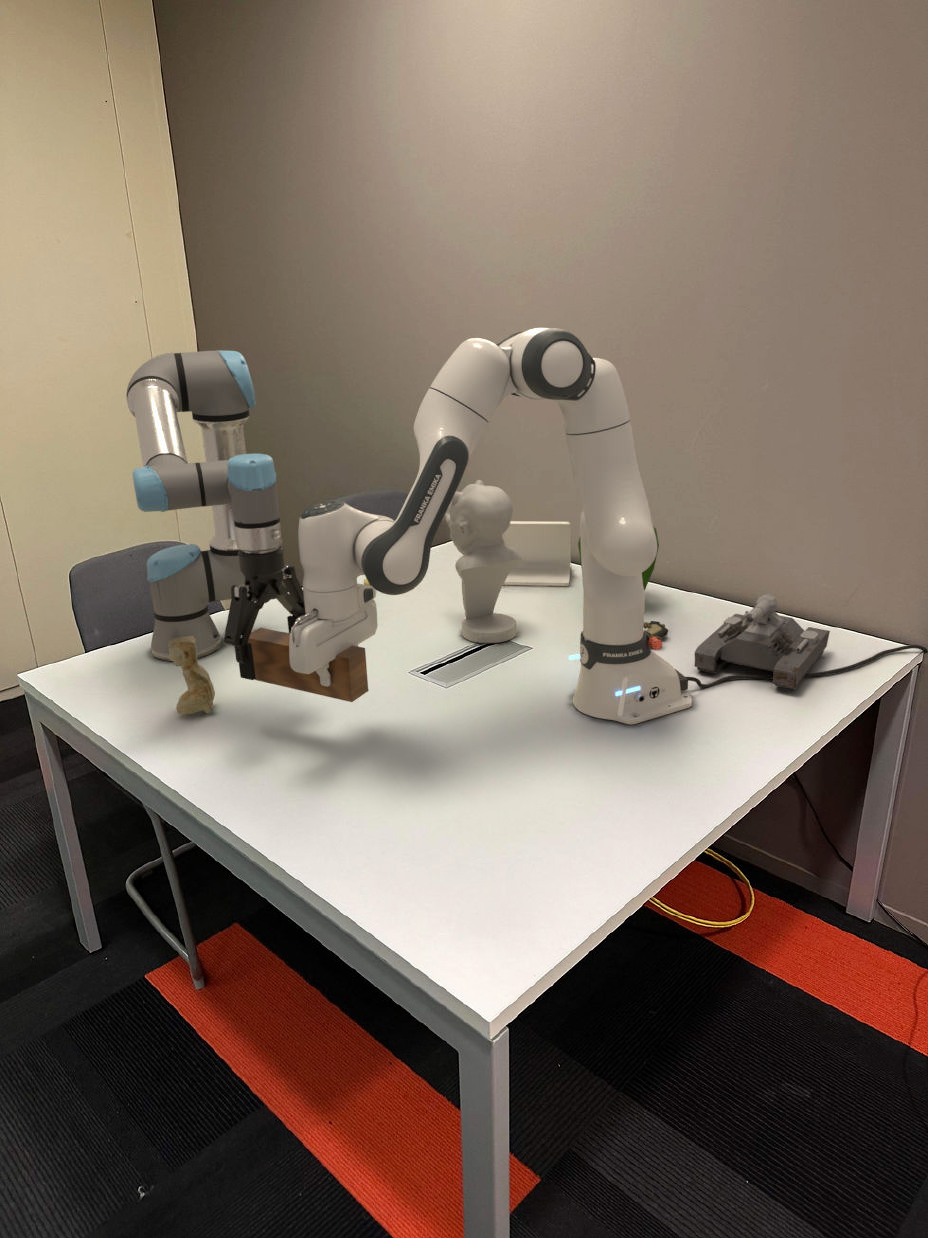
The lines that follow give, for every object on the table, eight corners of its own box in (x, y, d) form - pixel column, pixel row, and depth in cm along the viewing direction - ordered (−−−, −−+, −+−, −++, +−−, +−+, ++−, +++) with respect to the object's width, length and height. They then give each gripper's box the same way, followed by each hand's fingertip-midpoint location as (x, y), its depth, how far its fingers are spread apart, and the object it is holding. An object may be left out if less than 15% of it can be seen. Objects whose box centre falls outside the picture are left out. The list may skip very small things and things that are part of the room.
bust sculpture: (483, 606, 216) (480, 468, 204) (534, 636, 196) (535, 485, 184) (426, 618, 209) (419, 476, 197) (473, 650, 189) (469, 494, 177)
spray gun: (673, 636, 195) (650, 661, 184) (606, 620, 203) (579, 643, 192) (675, 619, 194) (651, 643, 182) (607, 603, 202) (580, 626, 190)
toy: (734, 634, 194) (740, 571, 188) (827, 652, 183) (835, 585, 177) (692, 673, 174) (697, 604, 169) (793, 696, 163) (802, 623, 158)
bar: (247, 678, 152) (242, 636, 150) (265, 668, 156) (260, 627, 153) (352, 702, 142) (348, 658, 139) (368, 691, 146) (365, 647, 143)
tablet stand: (569, 585, 229) (570, 524, 223) (476, 584, 232) (475, 523, 226) (570, 566, 246) (571, 508, 240) (484, 564, 249) (483, 507, 243)
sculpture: (181, 705, 167) (169, 634, 162) (218, 702, 168) (208, 632, 162) (175, 719, 162) (163, 646, 156) (213, 716, 162) (203, 643, 157)
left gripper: (225, 571, 132) (242, 695, 140) (323, 532, 152) (332, 642, 160) (189, 565, 135) (207, 687, 143) (289, 528, 156) (301, 636, 163)
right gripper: (307, 624, 130) (315, 705, 135) (381, 585, 147) (386, 658, 152) (275, 618, 133) (284, 698, 138) (351, 580, 150) (357, 653, 155)
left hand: (273, 663), depth 151 cm, fingers open, 13 cm apart
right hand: (338, 677), depth 145 cm, fingers closed on bar, 5 cm apart
